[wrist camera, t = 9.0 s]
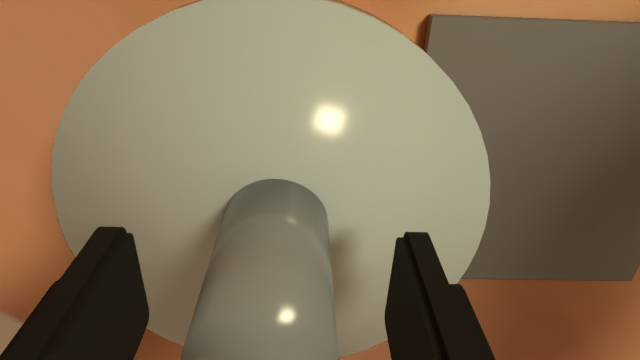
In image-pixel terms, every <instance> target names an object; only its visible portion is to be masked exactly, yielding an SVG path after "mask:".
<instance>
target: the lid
mask: <svg viewBox="0 0 640 360" xmlns="http://www.w3.org/2000/svg"><path fill="white" fill-rule="evenodd" d="M51 179H52V192H53V200H54V204H55V208H56V213H57V217H58V221H59V224H60V226H61V229H62V231H63V234H64V236H65V239H66V241H67V244H68V246H69V247H70V249H71V251H72V253H73V254H74V256H75V258H76V256H77V255H78V253H79V252H80V251H81V249H82V248H83V246H84V245H85V244H86V242H87V241H88V240H89V238H90V237H91V235H92V234H93V233H94V231H95V230H96V229H97V228H98V227H124V228H125V230H126V232H127V233H132V234H133V237H134V241H135V245H136V250H137V255H138V259H139V264H140V269H141V274H142V278H143V283H144V288H145V292H146V297H147V302H148V307H149V321H148V324H147V327H146V329H148V330H150V331H152V332H154V333H155V334H157V335H159V336H161V337H163V338H165V339H167V340H169V341H171V342H173V343H176V344H178V345H181V346H183V350H182V356H181V360H338V358H340V357H344V356H347V355H351V354H354V353H357V352H360V351H363V350H366V349H368V348H371V347H373V346H375V345H378V344H380V343H383V342H385V341H387V340H388V338H387V333H386V328H385V308H386V301H387V295H388V288H389V282H390V276H391V269H392V263H393V257H394V250H395V244H396V239H397V238H398V237H403V236H404V233H405V232H427V233H428V234H429V236H430V238H431V241H432V243H433V246H434V248H435V250H436V253H437V255H438V258H439V260H440V263H441V265H442V268H443V270H444V273H445V275H446V277H447V280H448V282H449V284H457V283H458V281H459V280H460V279H461V277H462V276H463V274H464V273H465V271H466V270H467V268H468V266H469V265H470V263H471V261H472V259H473V257H474V255H475V253H476V251H477V249H478V246H479V244H480V241H481V238H482V235H483V232H484V229H485V226H486V221H487V215H488V210H489V205H490V182H491V180H490V172H489V163H488V155H487V152H486V148H485V145H484V141H483V138H482V134H481V131H480V128H479V126H478V124H477V122H476V120H475V118H474V116H473V113H472V111H471V109H470V107H469V105H468V103H467V102H466V100H465V99H464V98H463V96H462V95H461V93H460V92H459V90H458V89H457V87H456V86H455V84H454V83H453V81H452V80H451V79H450V78H449V77H448V76H447V75H446V74H445V72H444V71H443V70H442V69H441V68H440V67H439V66H438V65H437V64H436V63H435V62H434V61H433V59H432V58H431V57H430V56H429V55H428V54H427V53H426V52H425V51H424V50H423V49H422V48H420V47H419V46H418V45H417V44H415V43H414V42H413V41H412V40H411V39H409V38H408V37H407V36H406V35H404V34H403V33H402V32H401V31H399V30H398V29H397V28H395V27H393V26H392V25H390V24H388V23H386V22H385V21H383V20H381V19H380V18H378V17H376V16H375V15H373V14H371V13H369V12H367V11H364V10H362V9H359V8H357V7H354V6H352V5H350V4H347V3H345V2H342V1H339V0H197V1H194V2H191V3H188V4H185V5H182V6H179V7H177V8H175V9H174V10H172V11H170V12H168V13H166V14H164V15H162V16H160V17H158V18H156V19H154V20H152V21H150V22H149V23H147V24H145V25H143V26H141V27H139V28H138V29H136V30H135V31H133V32H132V33H130V34H129V35H128V36H126V37H125V38H124V39H122V40H121V41H120V42H118V43H117V44H115V45H114V46H113V47H111V48H110V49H109V50H108V51H107V52H106V53H105V54H104V55H103V56H102V57H101V58H100V59H99V60H98V61H97V62H96V63H95V65H94V66H93V67H92V68H91V69H90V70H89V71H88V72H87V74H86V75H85V77H84V78H83V79H82V81H81V82H80V84H79V85H78V87H77V88H76V90H75V91H74V92H73V94H72V96H71V98H70V100H69V102H68V104H67V107H66V109H65V111H64V113H63V115H62V117H61V120H60V123H59V127H58V130H57V134H56V138H55V142H54V145H53V155H52V166H51Z"/></svg>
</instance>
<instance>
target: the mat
mask: <svg viewBox="0 0 640 360" xmlns="http://www.w3.org/2000/svg"><path fill="white" fill-rule="evenodd" d="M424 51H425V52H426V53H427V54H428V55H429V56H430V57H431V58H432V59H433V61H434V62H435V63H436V64H437V65H438V66H439V67H440V68H441V69H442V70H443V71H444V72H445V74H446V75H447V76H448V77H449V78H450V79H451V80H452V81H453V83H454V84H455V86H456V87H457V89H458V90H459V92H460V93H461V95H462V96H463V98H464V99H465V100H466V102H467V103H468V105H469V107H470V109H471V111H472V113H473V116H474V118H475V120H476V122H477V124H478V126H479V128H480V131H481V134H482V138H483V141H484V145H485V148H486V152H487V155H488V163H489V172H490V180H491V182H490V205H489V210H488V215H487V221H486V226H485V229H484V232H483V235H482V238H481V241H480V244H479V246H478V249H477V251H476V253H475V255H474V257H473V259H472V261H471V263H470V265H469V266H468V268H467V270H466V271H465V273H464V274H463V276H462V277H461V279H511V280H589V281H631V280H632V279H633V277H634V275H635V273H636V271H637V269H638V267H639V265H640V22H617V21H591V20H565V19H539V18H513V17H487V16H461V15H435V14H429V18H428V25H427V31H426V38H425V44H424Z"/></svg>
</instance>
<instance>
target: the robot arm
mask: <svg viewBox="0 0 640 360" xmlns="http://www.w3.org/2000/svg"><path fill="white" fill-rule="evenodd" d="M148 321H149V307H148V302H147V297H146V292H145V288H144V283H143V278H142V274H141V269H140V264H139V259H138V255H137V250H136V245H135V241H134V237H133V234H132V233H127V232H126V230H125V228H124V227H98V228H97V229H96V230H95V231H94V233H93V234H92V235H91V237H90V238H89V240H88V241H87V242H86V244H85V245H84V246H83V248H82V249H81V251H80V252H79V253H78V255H77V256H76V258H75V259H74V260H73V262H72V263H71V265H70V266H69V267H68V269H67V270H66V271H65V273H64V274H63V276H62V277H61V278H60V280H58V281H56V282H55V283H54V284H53V285H52V286H51V287H50V288H49V290H48V291H47V292H46V294H45V295H44V297H43V298H42V299H41V301H40V302H39V303H38V305H37V306H36V308H35V309H34V310H33V312H32V313H31V314H30V316H29V317H28V318H27V320H26V321H25V323H24V324H23V325H22V327H21V328H20V329H19V331H18V332H17V334H16V335H15V336H14V338H13V339H12V340H11V342H10V343H9V344H8V346H7V347H6V349H5V350H4V351H3V353H2V354H1V355H0V360H133V359H134V356H135V354H136V351H137V349H138V347H139V344H140V342H141V339H142V337H143V334H144V332H145V330H146V327H147V324H148ZM385 328H386V333H387V338H388V343H389V348H390V353H391V358H392V360H495V358H494V355H493V353H492V351H491V349H490V346H489V344H488V342H487V340H486V337H485V335H484V333H483V331H482V328H481V326H480V324H479V322H478V319H477V317H476V315H475V313H474V310H473V308H472V306H471V303H470V301H469V299H468V297H467V294H466V292H465V290H464V289H463V287H462V286H461V285H460V284H449V282H448V280H447V277H446V275H445V273H444V270H443V268H442V265H441V263H440V260H439V258H438V255H437V253H436V250H435V248H434V246H433V243H432V241H431V238H430V236H429V234H428V233H427V232H405V233H404V236H403V237H398V238H397V239H396V244H395V250H394V257H393V263H392V269H391V276H390V282H389V288H388V295H387V301H386V308H385Z"/></svg>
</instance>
